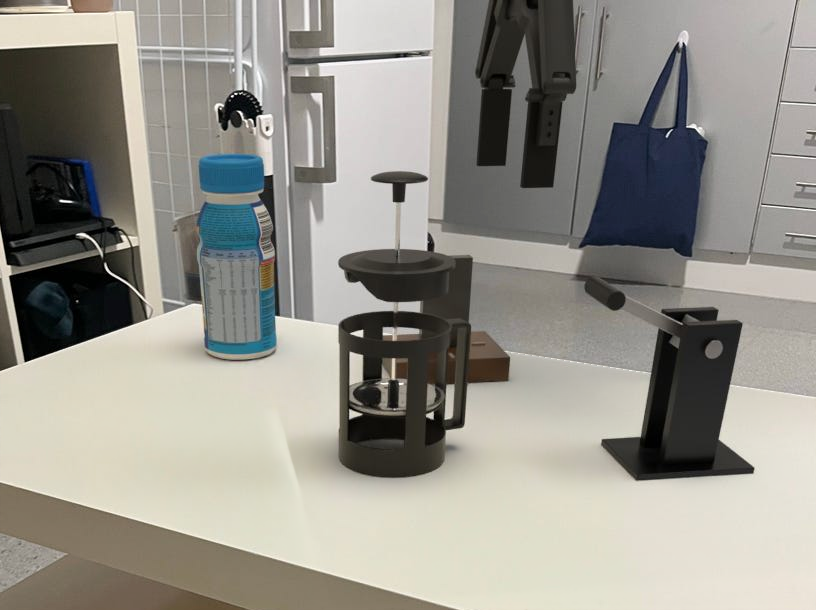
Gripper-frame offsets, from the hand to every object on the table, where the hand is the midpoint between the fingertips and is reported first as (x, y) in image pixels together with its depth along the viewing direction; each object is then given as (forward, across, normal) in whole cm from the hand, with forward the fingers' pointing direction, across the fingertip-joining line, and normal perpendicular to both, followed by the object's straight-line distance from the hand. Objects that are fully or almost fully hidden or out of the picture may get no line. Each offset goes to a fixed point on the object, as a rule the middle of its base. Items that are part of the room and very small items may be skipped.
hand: (512, 176), depth 92 cm
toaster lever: (+8, +22, +5) cm, 24 cm away
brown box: (+20, -8, -3) cm, 22 cm away
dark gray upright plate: (+18, -8, -3) cm, 20 cm away
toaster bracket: (+20, +22, +9) cm, 31 cm away
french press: (+20, +18, -14) cm, 30 cm away
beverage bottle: (+20, -18, -24) cm, 37 cm away
